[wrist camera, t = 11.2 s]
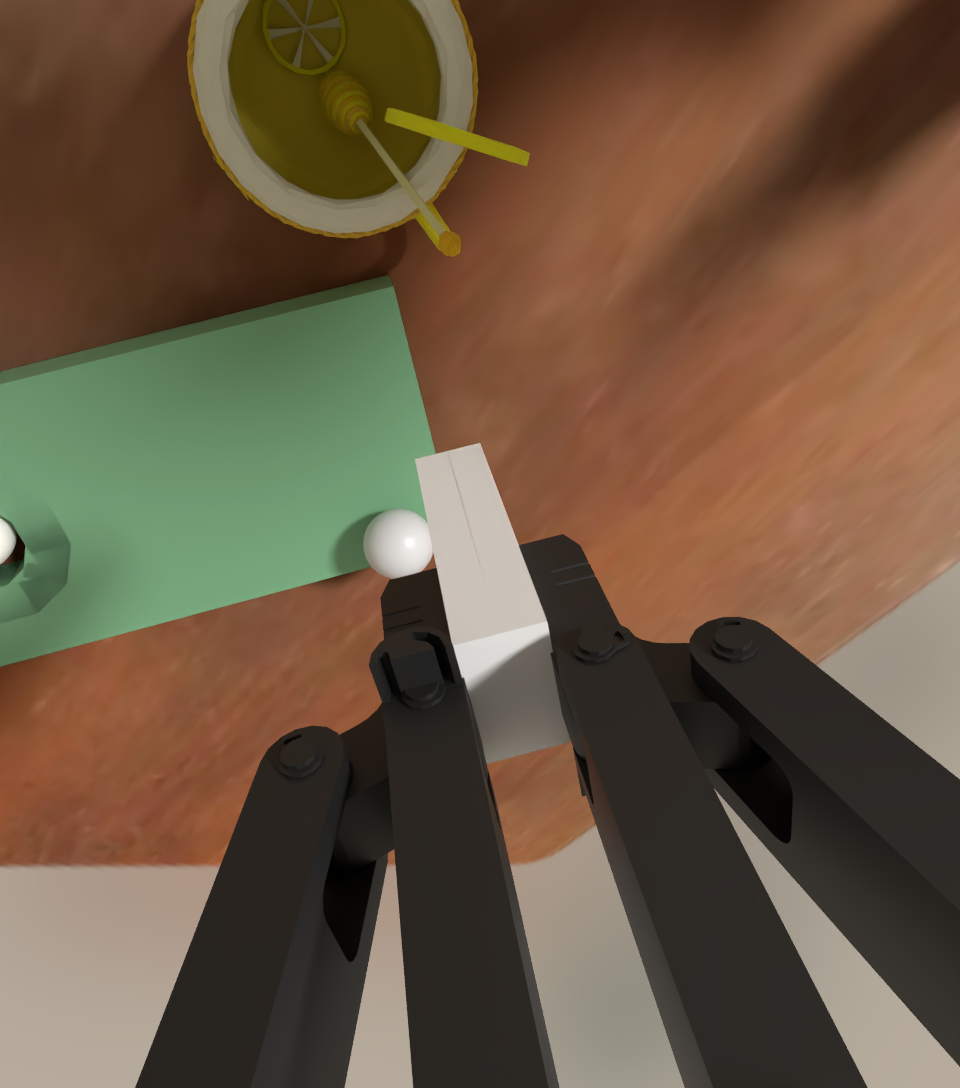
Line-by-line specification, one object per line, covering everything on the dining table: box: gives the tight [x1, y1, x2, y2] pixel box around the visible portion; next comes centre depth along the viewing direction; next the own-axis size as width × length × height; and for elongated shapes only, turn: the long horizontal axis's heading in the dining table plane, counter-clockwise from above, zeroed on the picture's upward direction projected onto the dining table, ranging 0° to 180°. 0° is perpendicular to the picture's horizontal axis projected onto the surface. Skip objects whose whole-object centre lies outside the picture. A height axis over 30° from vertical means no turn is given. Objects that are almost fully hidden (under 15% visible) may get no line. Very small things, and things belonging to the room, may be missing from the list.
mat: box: [0, 275, 436, 667], centre depth 38 cm, size 14×28×4 cm, turn 101°
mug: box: [187, 0, 530, 257], centre depth 28 cm, size 13×11×12 cm
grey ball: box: [363, 509, 433, 579], centre depth 40 cm, size 4×4×4 cm
